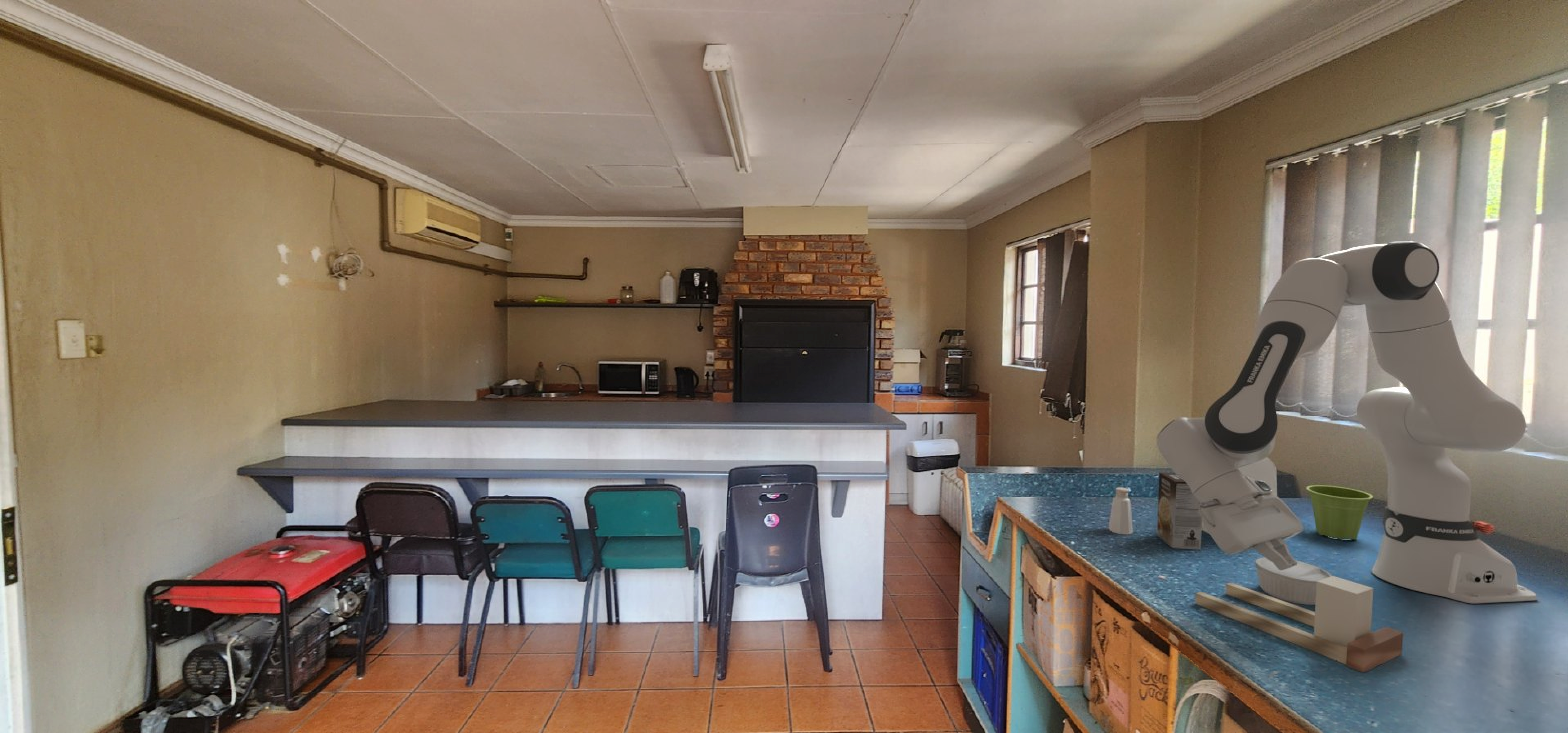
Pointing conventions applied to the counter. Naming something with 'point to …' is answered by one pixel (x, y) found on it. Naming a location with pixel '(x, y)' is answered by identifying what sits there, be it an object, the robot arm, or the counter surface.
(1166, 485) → the coffee box
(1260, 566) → the ramekin
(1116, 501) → the pepper shaker
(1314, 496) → the plant pot
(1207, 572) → the counter surface
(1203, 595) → the keeper track
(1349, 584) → the block
